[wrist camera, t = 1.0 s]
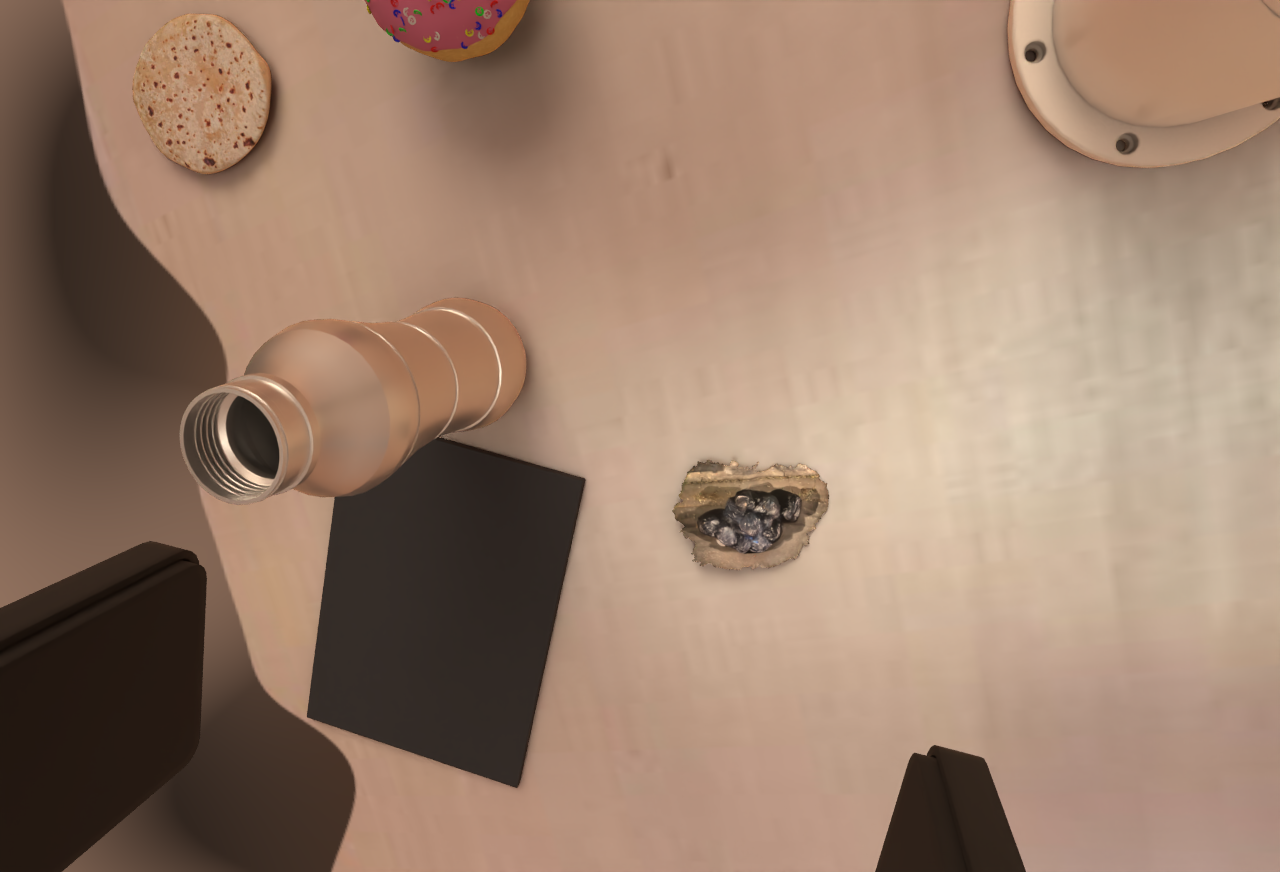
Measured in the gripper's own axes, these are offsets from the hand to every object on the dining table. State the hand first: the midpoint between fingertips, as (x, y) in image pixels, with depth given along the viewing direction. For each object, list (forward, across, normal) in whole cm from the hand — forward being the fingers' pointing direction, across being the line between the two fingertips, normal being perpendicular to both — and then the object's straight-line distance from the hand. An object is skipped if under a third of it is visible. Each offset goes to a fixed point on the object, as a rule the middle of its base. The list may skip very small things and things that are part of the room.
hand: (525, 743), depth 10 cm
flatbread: (+33, +30, -9) cm, 45 cm away
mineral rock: (+33, -3, +7) cm, 34 cm away
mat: (+33, +14, +17) cm, 40 cm away
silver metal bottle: (+33, +13, +2) cm, 35 cm away
